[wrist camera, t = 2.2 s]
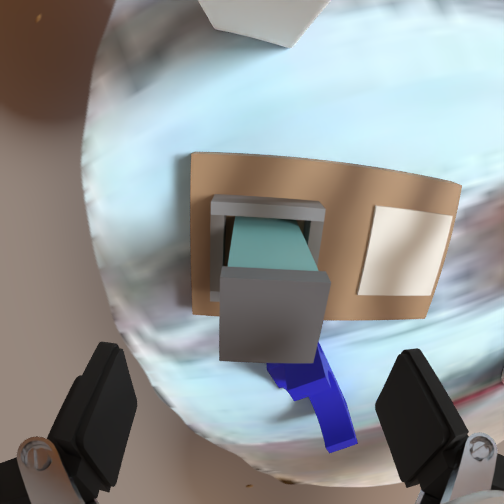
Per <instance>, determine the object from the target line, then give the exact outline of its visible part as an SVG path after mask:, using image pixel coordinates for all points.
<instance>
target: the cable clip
mask: <svg viewBox="0 0 504 504" xmlns="http://www.w3.org/2000/svg"><path fill="white" fill-rule="evenodd" d="M266 364H267V371H268V372H269V374H270V375H271V377H272V378H273V380H274V381H275V383H276V384H277V386H278V387H279V388H281V387H282V388H284V389H285V390H286V391H287V392H288V393H289V394H290V396H291V397H292V399H293V400H294V401H297V400H300V399H303V398H306V397H309V399H310V401H311V403H312V405H313V408H314V410H315V413H316V416H317V418H318V421H319V424H320V427H321V431H322V434H323V438H324V442H325V447H326V449H327V450H328V452H329V453H332V452H335V451H338V450H341V449H344V448H347V447H350V446H352V445H355V444H358V442H357V439H356V435H355V431H354V428H353V424H352V421H351V417H350V414H349V410H348V407H347V403H346V401H345V399H344V396H343V394H342V392H341V390H340V388H339V385H338V383H337V381H336V379H335V377H334V374H333V372H332V370H331V368H330V366H329V363H328V361H327V359H326V357H325V355H324V353H323V350H322V348H321V346H320V344H319V342H318V345H317V349H316V354H315V358H314V362H313V363H266Z"/></svg>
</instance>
